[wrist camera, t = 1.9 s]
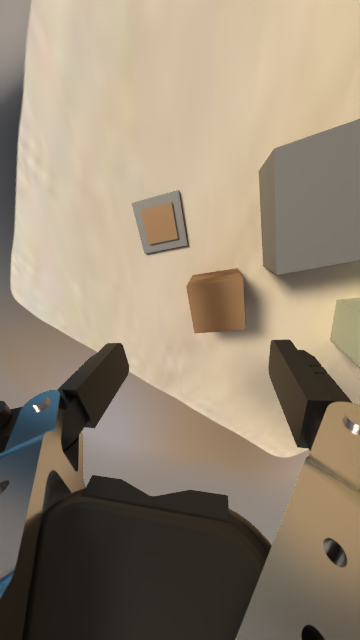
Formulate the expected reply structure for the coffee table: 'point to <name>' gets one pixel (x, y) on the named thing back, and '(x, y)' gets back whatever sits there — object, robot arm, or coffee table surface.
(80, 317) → the coffee table surface
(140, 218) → the card
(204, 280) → the walnut cube
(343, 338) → the sage cube
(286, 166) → the base block
